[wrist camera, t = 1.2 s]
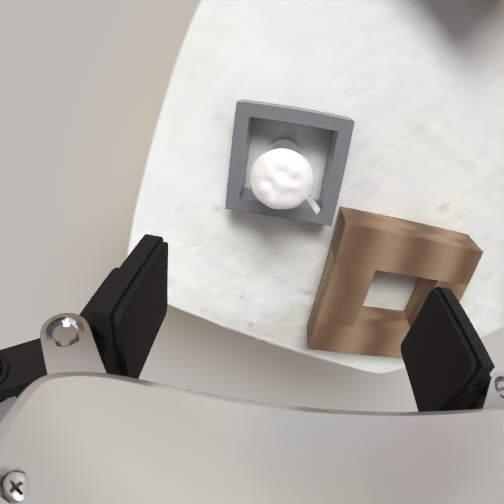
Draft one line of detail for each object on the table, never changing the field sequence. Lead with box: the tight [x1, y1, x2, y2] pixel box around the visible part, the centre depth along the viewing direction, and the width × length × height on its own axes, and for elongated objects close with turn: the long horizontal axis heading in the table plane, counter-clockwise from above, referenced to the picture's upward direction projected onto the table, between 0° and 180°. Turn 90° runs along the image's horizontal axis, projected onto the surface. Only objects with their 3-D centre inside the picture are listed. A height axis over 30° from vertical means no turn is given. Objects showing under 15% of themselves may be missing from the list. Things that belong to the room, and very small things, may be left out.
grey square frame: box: [225, 100, 354, 226], centre depth 29 cm, size 10×10×3 cm
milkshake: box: [250, 139, 320, 214], centre depth 26 cm, size 4×5×10 cm
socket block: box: [307, 207, 483, 358], centre depth 34 cm, size 16×16×4 cm
